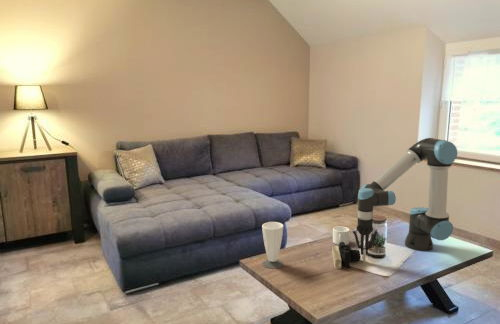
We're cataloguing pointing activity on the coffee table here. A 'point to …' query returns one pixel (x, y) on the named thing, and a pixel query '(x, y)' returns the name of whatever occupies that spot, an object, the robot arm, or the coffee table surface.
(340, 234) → the mug
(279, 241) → the cup
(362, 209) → the robot arm
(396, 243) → the coffee table surface
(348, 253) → the camera
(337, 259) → the board
